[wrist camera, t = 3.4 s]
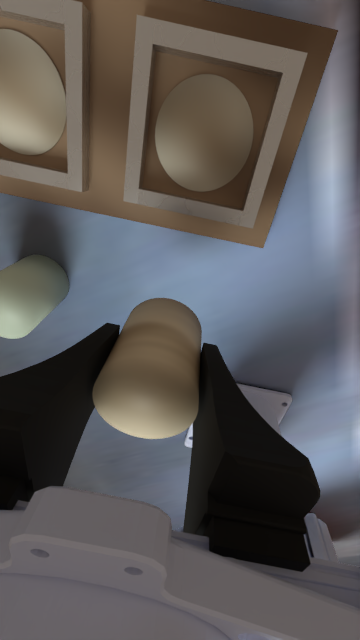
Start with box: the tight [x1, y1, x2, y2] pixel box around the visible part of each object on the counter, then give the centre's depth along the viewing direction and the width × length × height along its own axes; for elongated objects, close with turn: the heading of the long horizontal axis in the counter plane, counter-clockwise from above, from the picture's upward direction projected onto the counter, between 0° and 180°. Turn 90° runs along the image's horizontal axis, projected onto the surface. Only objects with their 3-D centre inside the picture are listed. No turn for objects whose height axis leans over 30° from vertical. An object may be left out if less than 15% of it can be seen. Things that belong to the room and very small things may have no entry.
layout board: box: [0, 0, 338, 248], centre depth 15 cm, size 10×20×2 cm, turn 79°
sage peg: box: [0, 255, 69, 339], centre depth 19 cm, size 4×4×5 cm
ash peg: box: [92, 298, 202, 439], centre depth 13 cm, size 4×4×5 cm
